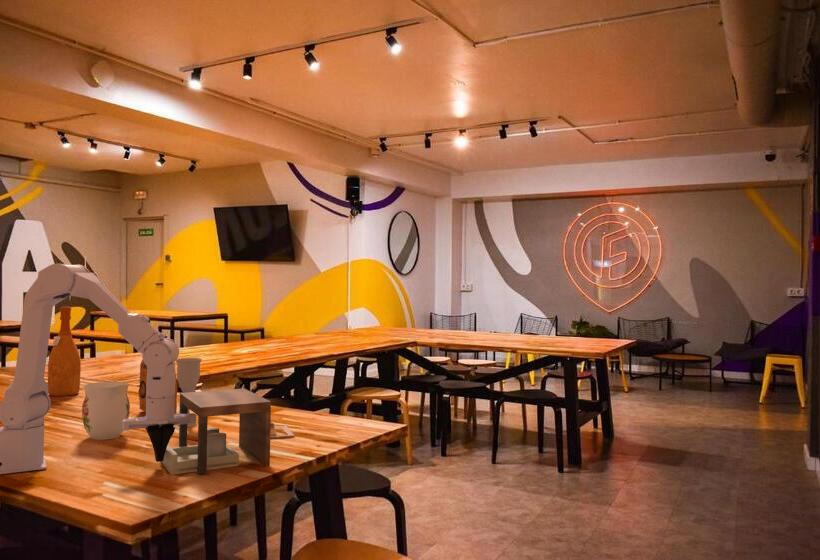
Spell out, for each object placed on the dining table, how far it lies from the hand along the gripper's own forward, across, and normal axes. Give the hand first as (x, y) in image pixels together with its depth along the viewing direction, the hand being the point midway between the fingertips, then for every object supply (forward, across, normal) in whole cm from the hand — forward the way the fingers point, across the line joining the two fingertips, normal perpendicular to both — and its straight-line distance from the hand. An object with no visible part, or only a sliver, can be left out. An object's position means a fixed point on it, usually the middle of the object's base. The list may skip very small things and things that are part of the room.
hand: (159, 460), depth 137 cm
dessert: (+2, +30, +19) cm, 36 cm away
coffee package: (+2, +10, +58) cm, 59 cm away
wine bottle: (+2, -12, +104) cm, 105 cm away
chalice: (+2, +14, +38) cm, 41 cm away
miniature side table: (+2, +14, 0) cm, 14 cm away
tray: (+2, +8, 0) cm, 8 cm away
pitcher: (+2, -6, +36) cm, 36 cm away
